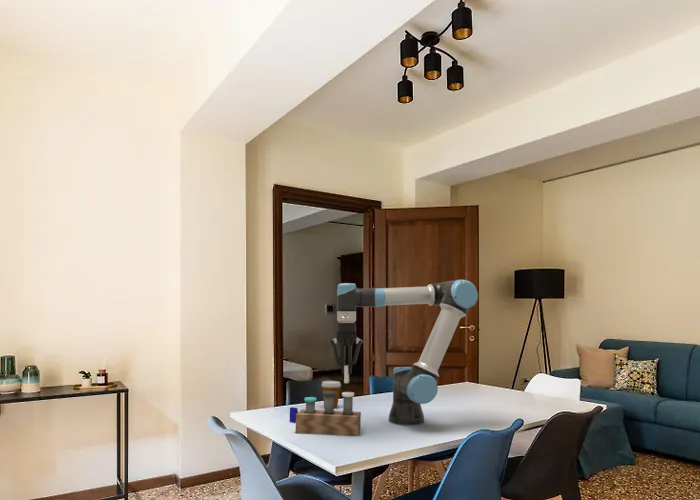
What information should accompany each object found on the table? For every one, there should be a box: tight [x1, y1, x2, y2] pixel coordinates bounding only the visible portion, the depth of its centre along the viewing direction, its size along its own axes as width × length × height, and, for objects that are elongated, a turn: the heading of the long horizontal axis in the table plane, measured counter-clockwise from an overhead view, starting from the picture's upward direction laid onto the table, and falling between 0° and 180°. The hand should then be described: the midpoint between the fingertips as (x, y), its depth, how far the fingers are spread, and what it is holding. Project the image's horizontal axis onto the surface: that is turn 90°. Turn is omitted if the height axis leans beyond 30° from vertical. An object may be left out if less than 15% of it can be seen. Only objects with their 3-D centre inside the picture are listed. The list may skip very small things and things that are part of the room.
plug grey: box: [341, 391, 355, 415], centre depth 203 cm, size 5×5×9 cm
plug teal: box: [303, 396, 318, 414], centre depth 205 cm, size 5×5×9 cm
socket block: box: [295, 408, 362, 437], centre depth 204 cm, size 24×10×7 cm, turn 82°
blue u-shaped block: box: [289, 406, 299, 424], centre depth 222 cm, size 12×4×6 cm, turn 143°
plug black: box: [322, 391, 335, 414], centre depth 205 cm, size 5×5×9 cm
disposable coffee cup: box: [321, 380, 342, 409], centre depth 250 cm, size 10×10×12 cm
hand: (346, 382), depth 205 cm, fingers closed
